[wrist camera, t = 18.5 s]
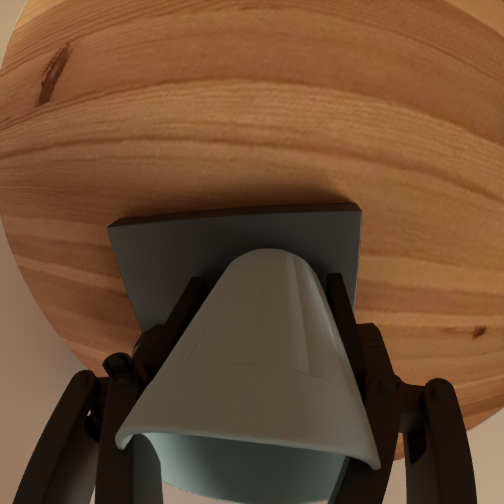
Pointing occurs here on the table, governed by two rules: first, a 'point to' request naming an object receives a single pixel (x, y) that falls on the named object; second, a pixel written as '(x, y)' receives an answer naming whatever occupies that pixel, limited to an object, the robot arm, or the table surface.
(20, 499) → the robot arm
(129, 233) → the scale
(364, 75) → the table surface
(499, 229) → the table surface
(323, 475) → the cup
